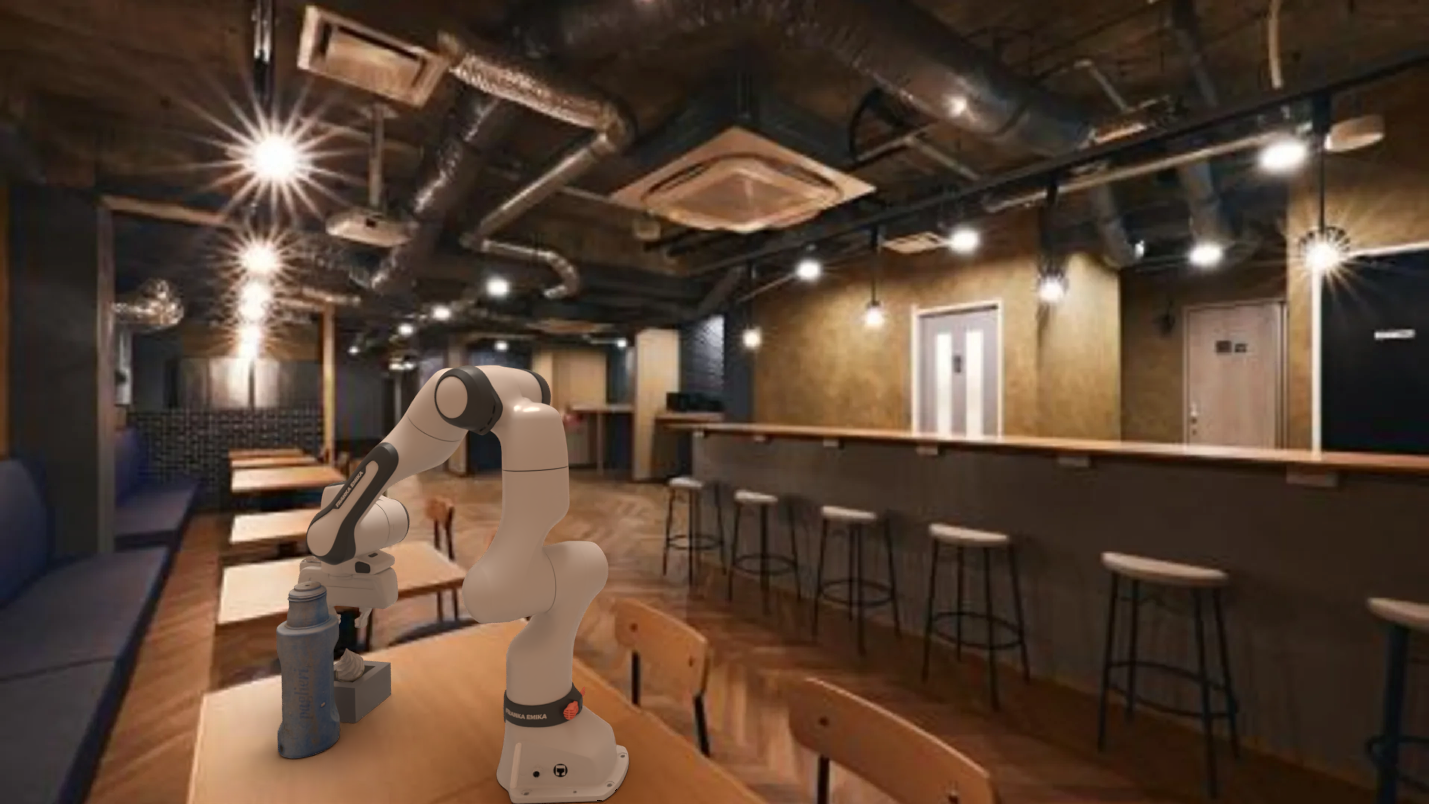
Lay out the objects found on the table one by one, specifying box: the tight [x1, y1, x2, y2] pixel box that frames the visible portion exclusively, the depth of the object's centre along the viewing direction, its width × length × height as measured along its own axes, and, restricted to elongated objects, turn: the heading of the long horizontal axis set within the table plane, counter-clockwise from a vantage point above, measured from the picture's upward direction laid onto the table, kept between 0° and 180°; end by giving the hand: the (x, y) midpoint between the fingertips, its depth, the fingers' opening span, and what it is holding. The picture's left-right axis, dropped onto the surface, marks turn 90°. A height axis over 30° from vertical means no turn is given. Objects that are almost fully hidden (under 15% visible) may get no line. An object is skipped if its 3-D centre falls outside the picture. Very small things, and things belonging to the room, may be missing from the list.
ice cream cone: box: [336, 647, 364, 682], centre depth 129 cm, size 5×5×15 cm
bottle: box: [275, 581, 341, 759], centre depth 117 cm, size 10×10×30 cm
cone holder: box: [334, 659, 392, 724], centre depth 131 cm, size 11×11×7 cm
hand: (347, 625), depth 130 cm, fingers open, 4 cm apart
